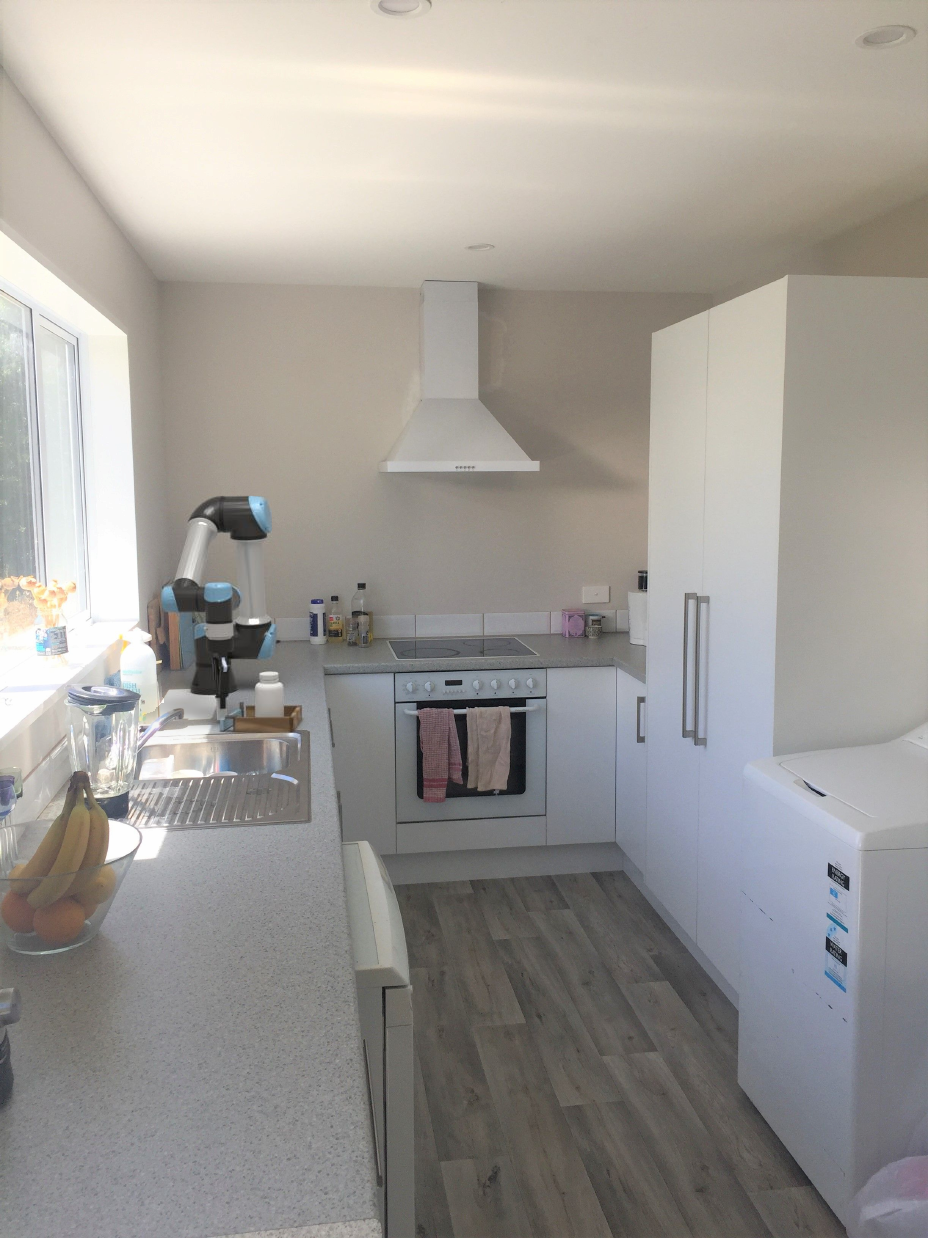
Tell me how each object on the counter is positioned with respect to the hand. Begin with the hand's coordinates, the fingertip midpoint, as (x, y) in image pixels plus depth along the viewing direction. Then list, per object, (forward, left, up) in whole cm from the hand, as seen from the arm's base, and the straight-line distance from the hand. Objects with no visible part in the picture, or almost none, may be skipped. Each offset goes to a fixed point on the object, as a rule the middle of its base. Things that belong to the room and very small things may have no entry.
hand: (222, 719), depth 272 cm
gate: (+4, +3, -1) cm, 5 cm away
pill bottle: (+3, +14, -1) cm, 15 cm away
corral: (+3, +13, -1) cm, 13 cm away
